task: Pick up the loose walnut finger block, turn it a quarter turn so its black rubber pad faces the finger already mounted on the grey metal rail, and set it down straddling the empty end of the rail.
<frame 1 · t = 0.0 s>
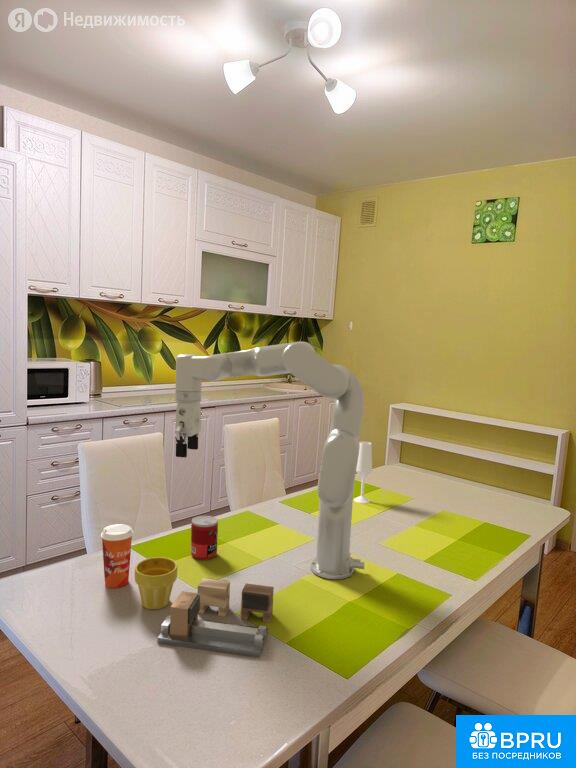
hand: (187, 452, 159), 31 cm above the table, tool pointing down, fingers open, 9 cm apart
plant pot: (155, 603, 134), on the table
tan notched block: (213, 610, 132), on the table
coffee cup: (117, 583, 143), on the table
champagne flute: (361, 500, 218), on the table
canned food: (203, 555, 162), on the table
rail: (213, 638, 120), on the table
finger: (256, 616, 130), on the table
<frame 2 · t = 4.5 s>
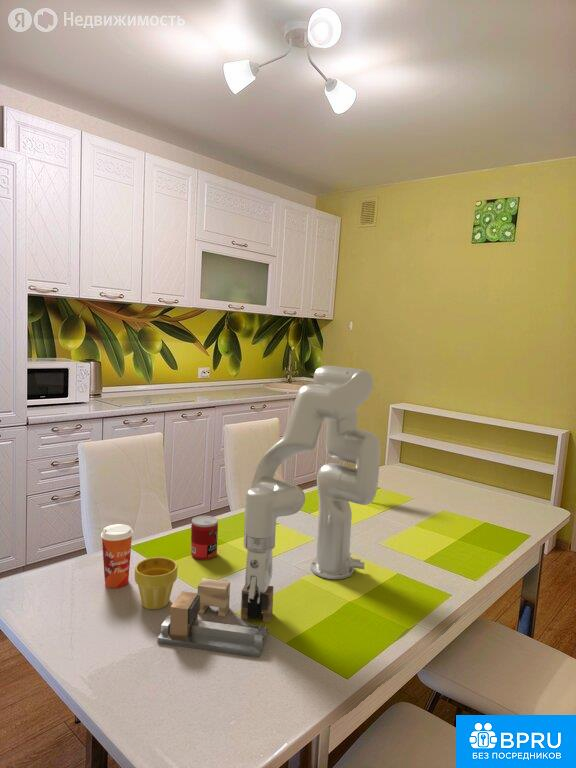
hand: (256, 610, 130), 1 cm above the table, tool pointing down, fingers closed on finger, 4 cm apart
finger: (256, 615, 130), on the table, touching gripper
everything else where it was.
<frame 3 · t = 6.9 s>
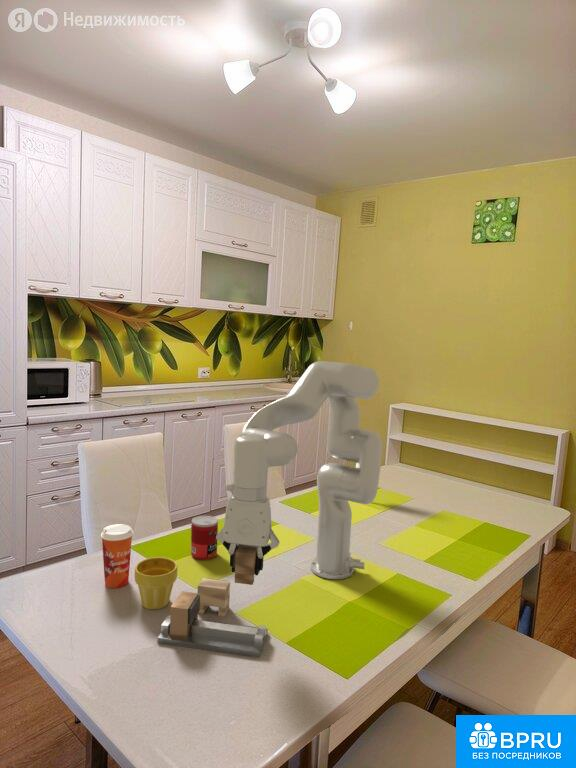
hand: (246, 570, 119), 16 cm above the table, tool pointing down, fingers closed on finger, 4 cm apart
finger: (247, 576, 119), point 15 cm above the table, touching gripper
everything else where it was.
when the fingers open (4 cm above the table, at t = 9.6 s): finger drops 1 cm, resting on rail.
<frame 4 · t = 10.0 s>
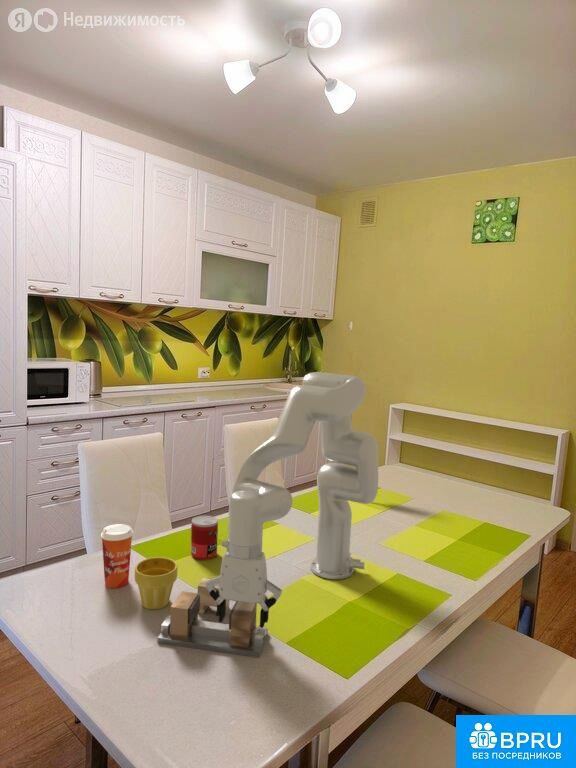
hand: (242, 621, 119), 5 cm above the table, tool pointing down, fingers open, 9 cm apart
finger: (243, 637, 119), point 1 cm above the table, touching rail
everything else where it was.
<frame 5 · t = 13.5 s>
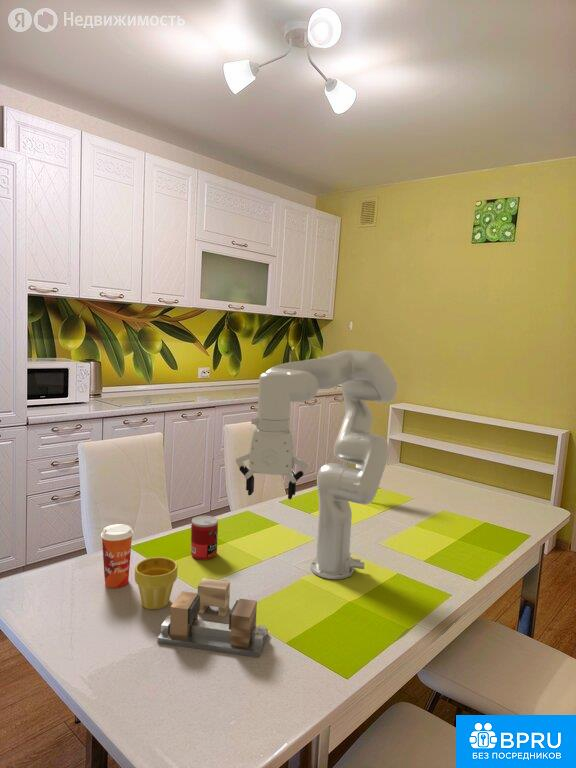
hand: (270, 495, 127), 30 cm above the table, tool pointing down, fingers open, 9 cm apart
nothing on the table moved.
at the end: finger 0.4 cm from the target spot on the rail, point 1.2 cm above the rail's base; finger tilted 0°; the gripper is holding nothing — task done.
